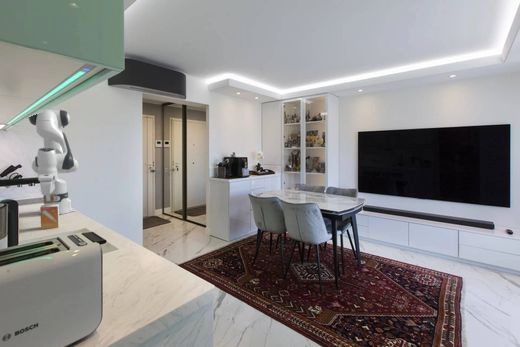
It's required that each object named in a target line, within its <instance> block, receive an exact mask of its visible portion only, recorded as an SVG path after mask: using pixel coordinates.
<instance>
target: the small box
mask: <svg viewBox="0 0 520 347" xmlns="http://www.w3.org/2000/svg"><path fill="white" fill-rule="evenodd" d="M39 211H40V230H47V229H50V230H51V229H57V228H60V214H59V204H54V205H44V204H43V205H41V206H40V210H39Z"/></svg>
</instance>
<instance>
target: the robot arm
mask: <svg viewBox="0 0 520 347" xmlns="http://www.w3.org/2000/svg"><path fill="white" fill-rule="evenodd" d="M46 110H47V111H44V112H42V113H39V114H36V115H33V116H31V117H28V116H27V118H28V121H29V123H30V124H31V125H33V126H35V129H36V133H37V134H38V136H39V137H41V138H43V147H41V148H39V149H38V150H37V155H36V156H35V157H34V160H33V161H32V163H31V169H32V171H33V172H34V173H36V174H37V179H38V182H39V183H40V184H39V186H40V191H41V195H42V196H44V195H45V196H46V201H50V200H51V198H50V194H54V195H55V202H54V203H47V204H44V203H43V205H54V204H59V215H64V214H68V213H73V212H75V208H73V206H72V204H71V203H72V201H71V199H70V198H69V191H68V183H67V181H66V180H65V179H63V178H61V177H59V175H58V174H69V173H74V172H76V171H77V170H78V169H79V162H78V160H77V159H75V157H74V156H73V153H72V150H71V148H70V145H69V144H70V143H69V141H68V138H67V135H66V133H65V132H63V130H62V128H63V129H65V127H66V126H68V125H69V123H70V120H71V116H70V115H69V113H68V112H67V111H66V110H63V109H60V110H59V109H52V108H51V109H49V110H48V109H46Z"/></svg>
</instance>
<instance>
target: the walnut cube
mask: <svg viewBox="0 0 520 347" xmlns="http://www.w3.org/2000/svg"><path fill="white" fill-rule="evenodd" d="M42 196H43V205H44V204H47V203H54V202H55V195H54V194H50V198H51V200H50V201H46V196H45V195H42Z"/></svg>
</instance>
